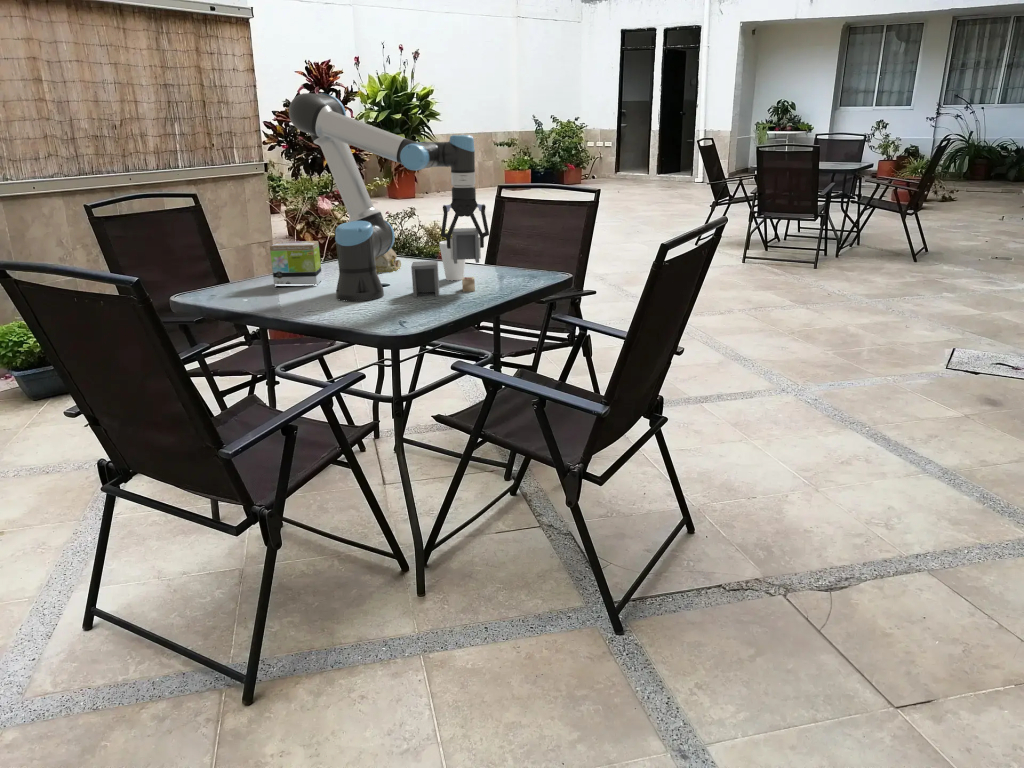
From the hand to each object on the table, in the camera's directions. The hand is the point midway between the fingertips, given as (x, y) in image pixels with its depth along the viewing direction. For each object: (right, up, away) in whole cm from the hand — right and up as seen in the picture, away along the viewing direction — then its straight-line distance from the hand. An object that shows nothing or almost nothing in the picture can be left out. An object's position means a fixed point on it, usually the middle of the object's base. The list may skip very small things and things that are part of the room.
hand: (465, 258), depth 253 cm
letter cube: (+1, -10, +3) cm, 11 cm away
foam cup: (-5, -4, +22) cm, 23 cm away
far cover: (0, -1, 0) cm, 1 cm away
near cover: (-13, -12, -1) cm, 17 cm away
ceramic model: (-33, +2, +44) cm, 55 cm away
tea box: (-60, -6, +22) cm, 64 cm away
